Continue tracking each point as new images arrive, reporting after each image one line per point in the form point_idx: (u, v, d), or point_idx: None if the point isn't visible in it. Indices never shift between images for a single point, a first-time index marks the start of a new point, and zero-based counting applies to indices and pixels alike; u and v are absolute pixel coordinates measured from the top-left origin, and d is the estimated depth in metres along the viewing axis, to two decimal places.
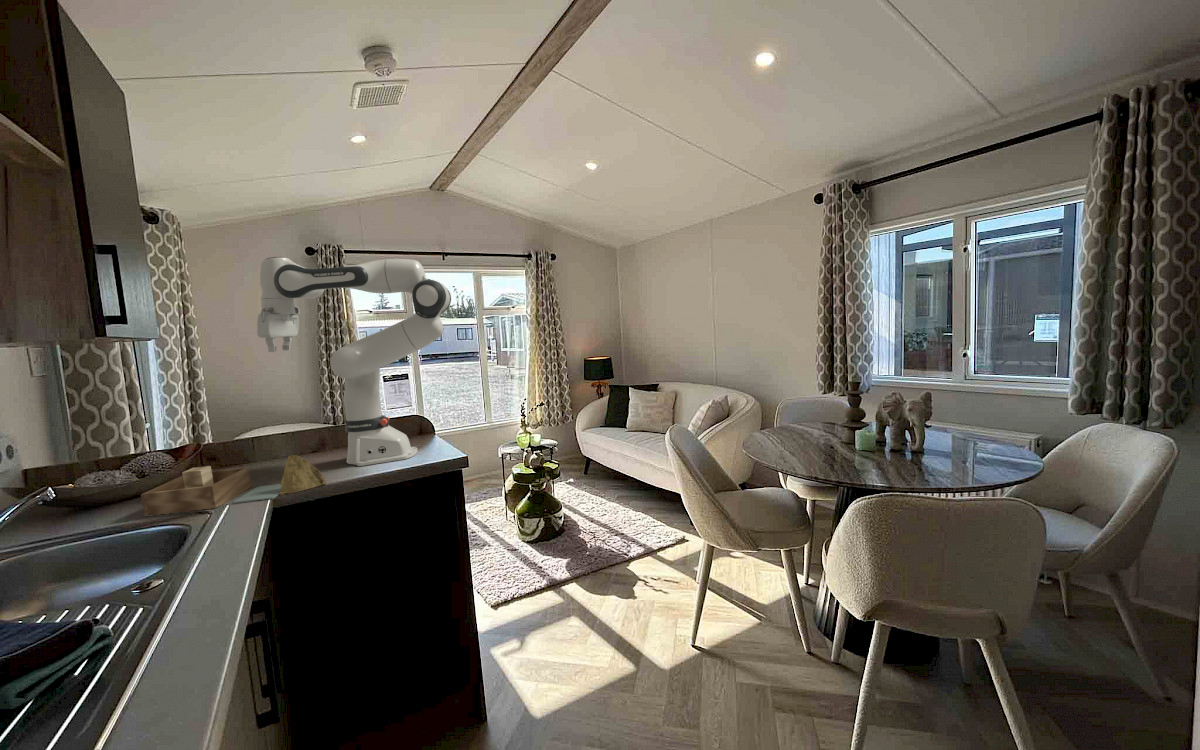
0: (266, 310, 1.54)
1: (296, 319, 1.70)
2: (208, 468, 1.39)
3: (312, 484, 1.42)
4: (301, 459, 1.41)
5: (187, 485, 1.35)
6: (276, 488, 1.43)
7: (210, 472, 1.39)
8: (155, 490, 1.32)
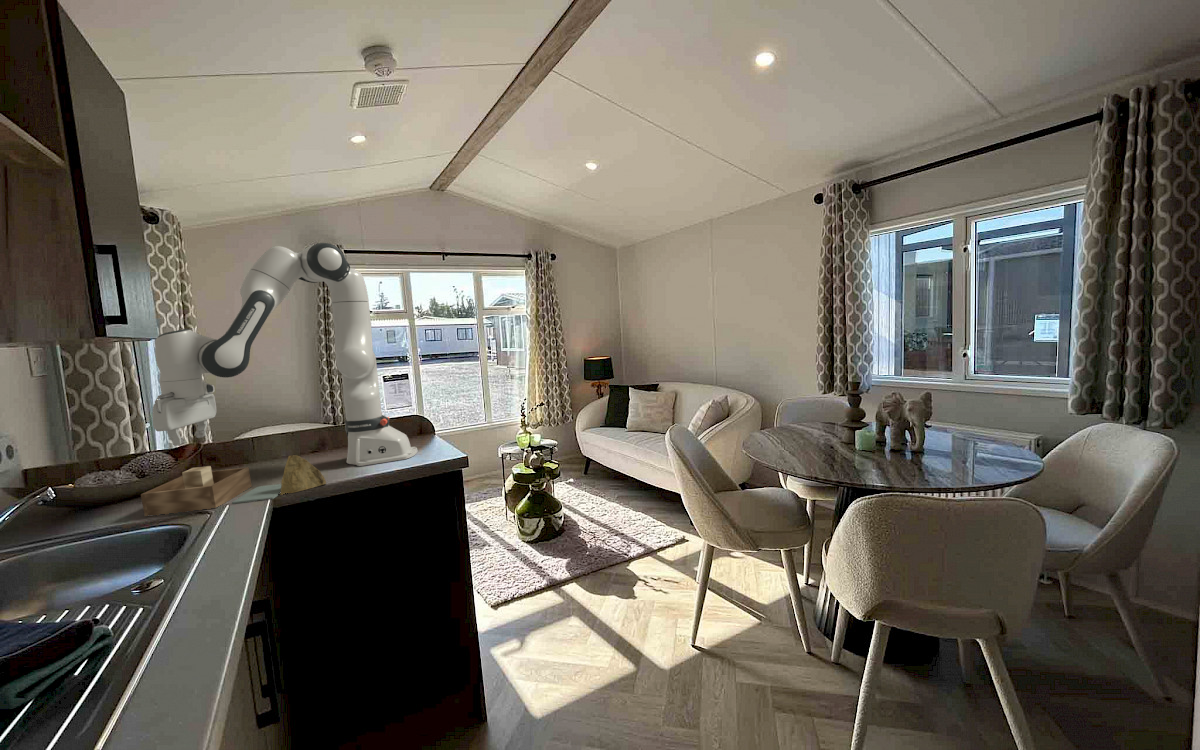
0: (163, 397, 1.27)
1: (211, 398, 1.43)
2: (208, 468, 1.39)
3: (312, 484, 1.42)
4: (301, 459, 1.42)
5: (187, 485, 1.35)
6: (276, 488, 1.43)
7: (210, 472, 1.39)
8: (155, 490, 1.32)
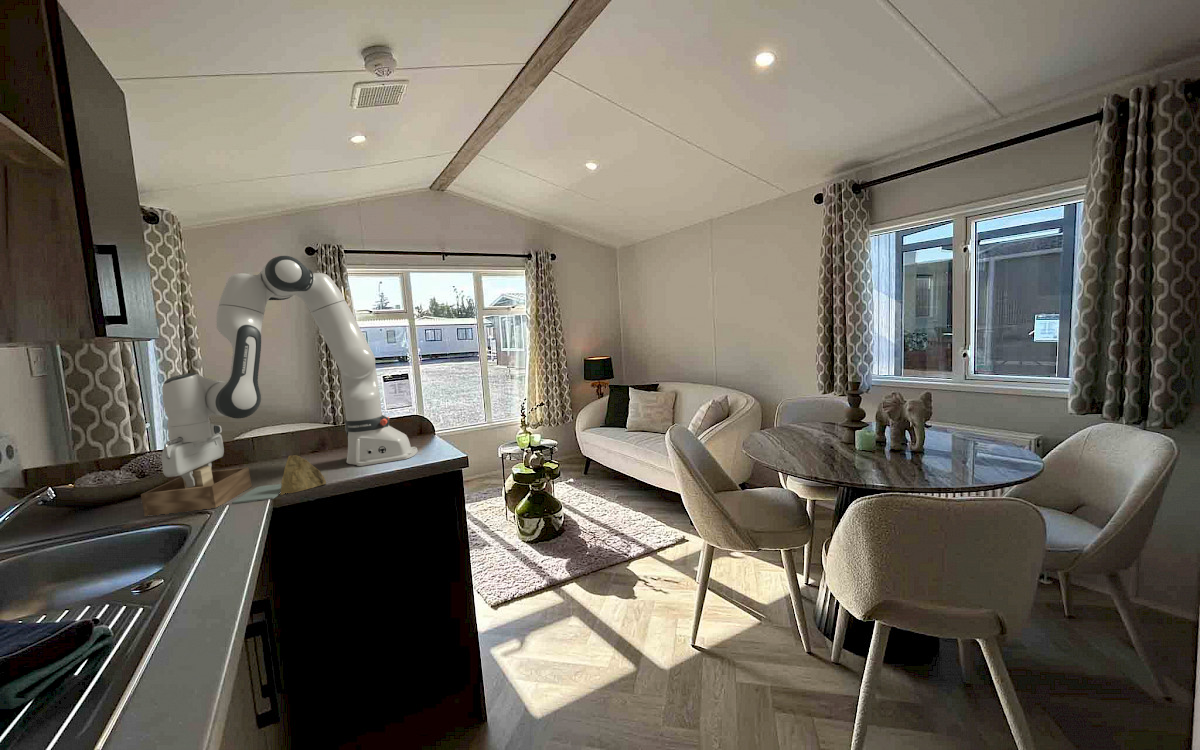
0: (171, 443, 1.28)
1: (218, 438, 1.44)
2: (208, 468, 1.39)
3: (312, 484, 1.42)
4: (301, 459, 1.42)
5: None
6: (276, 488, 1.43)
7: (210, 472, 1.39)
8: (155, 490, 1.32)
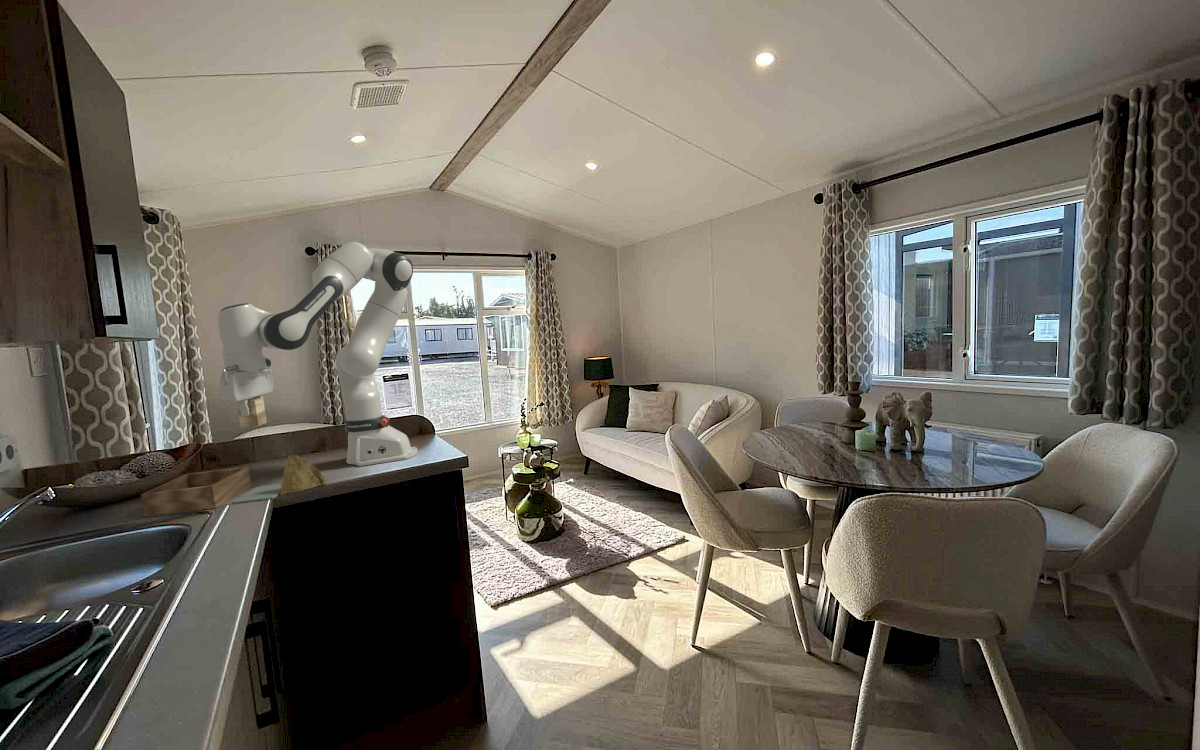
0: (229, 369, 1.28)
1: (269, 373, 1.45)
2: (261, 399, 1.39)
3: (312, 484, 1.42)
4: (301, 459, 1.42)
5: (241, 415, 1.35)
6: (276, 488, 1.43)
7: (263, 404, 1.40)
8: (155, 490, 1.32)
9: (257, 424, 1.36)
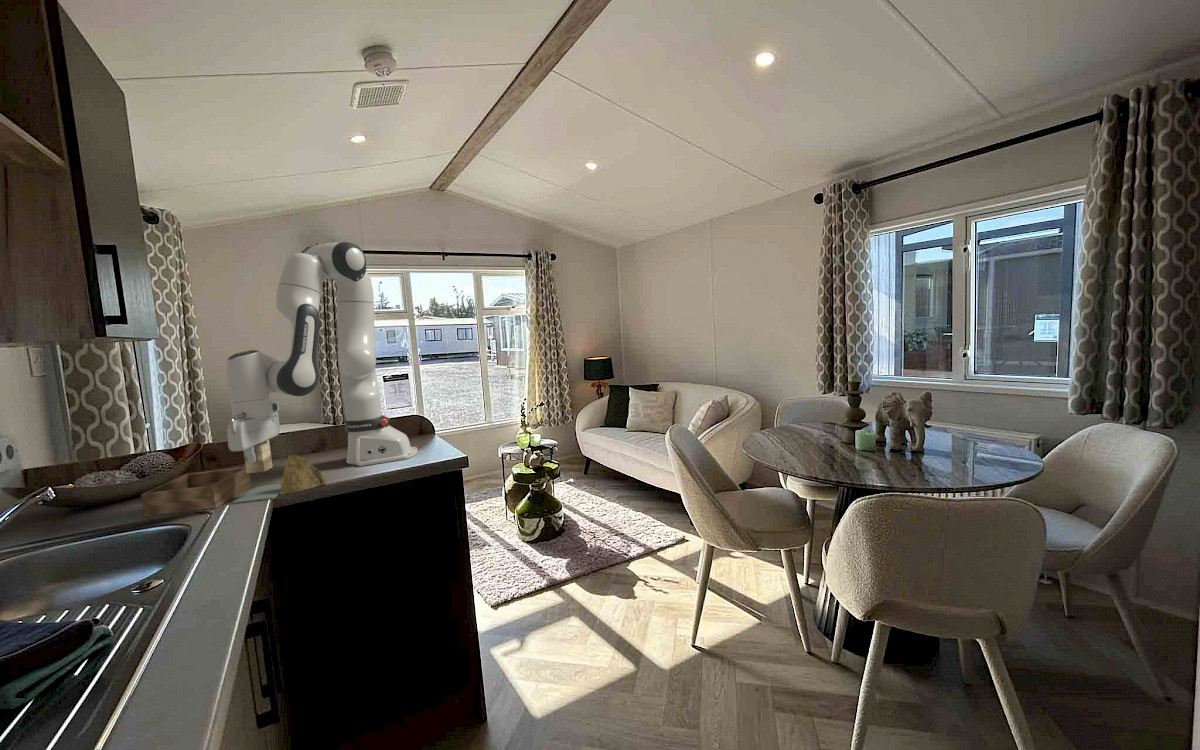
0: (237, 418, 1.30)
1: (275, 416, 1.46)
2: (267, 445, 1.40)
3: (312, 484, 1.42)
4: (301, 459, 1.42)
5: None
6: (276, 488, 1.43)
7: (269, 449, 1.41)
8: (155, 490, 1.32)
9: (263, 470, 1.37)
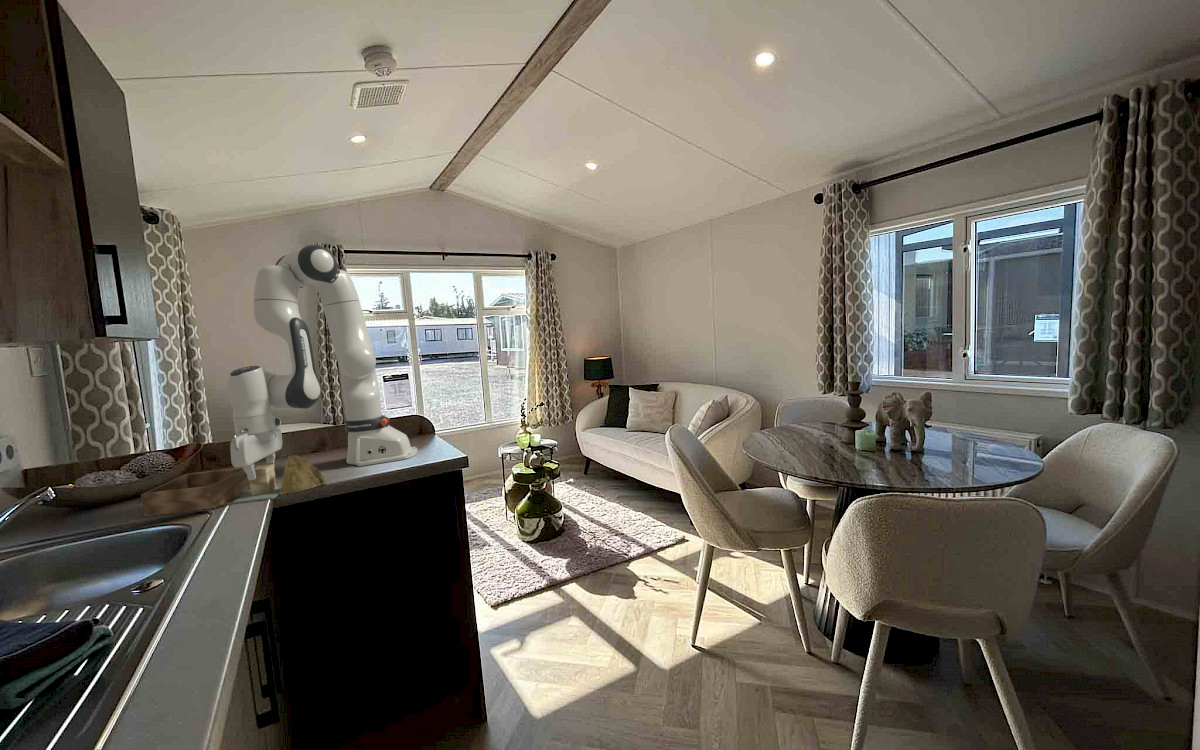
0: (239, 435, 1.30)
1: (278, 431, 1.47)
2: (271, 466, 1.41)
3: (312, 484, 1.42)
4: (301, 459, 1.41)
5: (252, 483, 1.38)
6: None
7: (273, 470, 1.42)
8: (155, 490, 1.32)
9: (268, 492, 1.38)
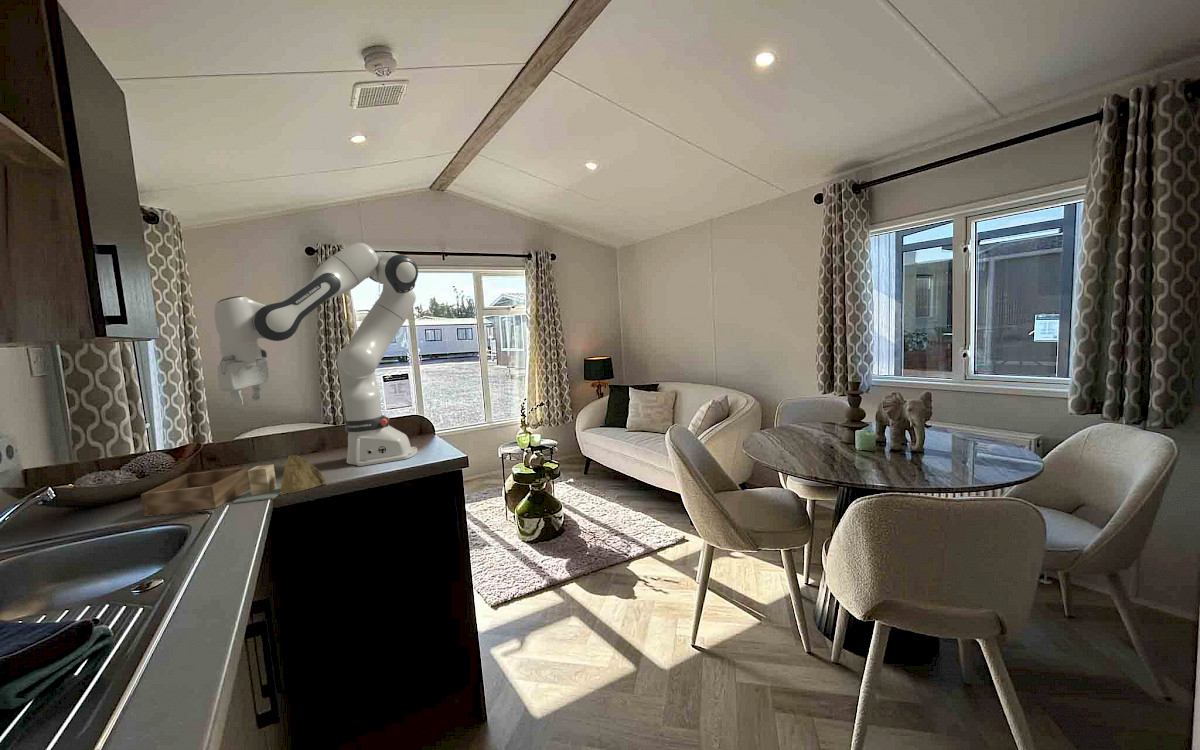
0: (226, 359, 1.33)
1: (264, 363, 1.50)
2: (271, 466, 1.41)
3: (312, 484, 1.42)
4: (301, 459, 1.42)
5: (252, 483, 1.38)
6: None
7: (273, 470, 1.42)
8: (155, 490, 1.32)
9: (268, 492, 1.38)
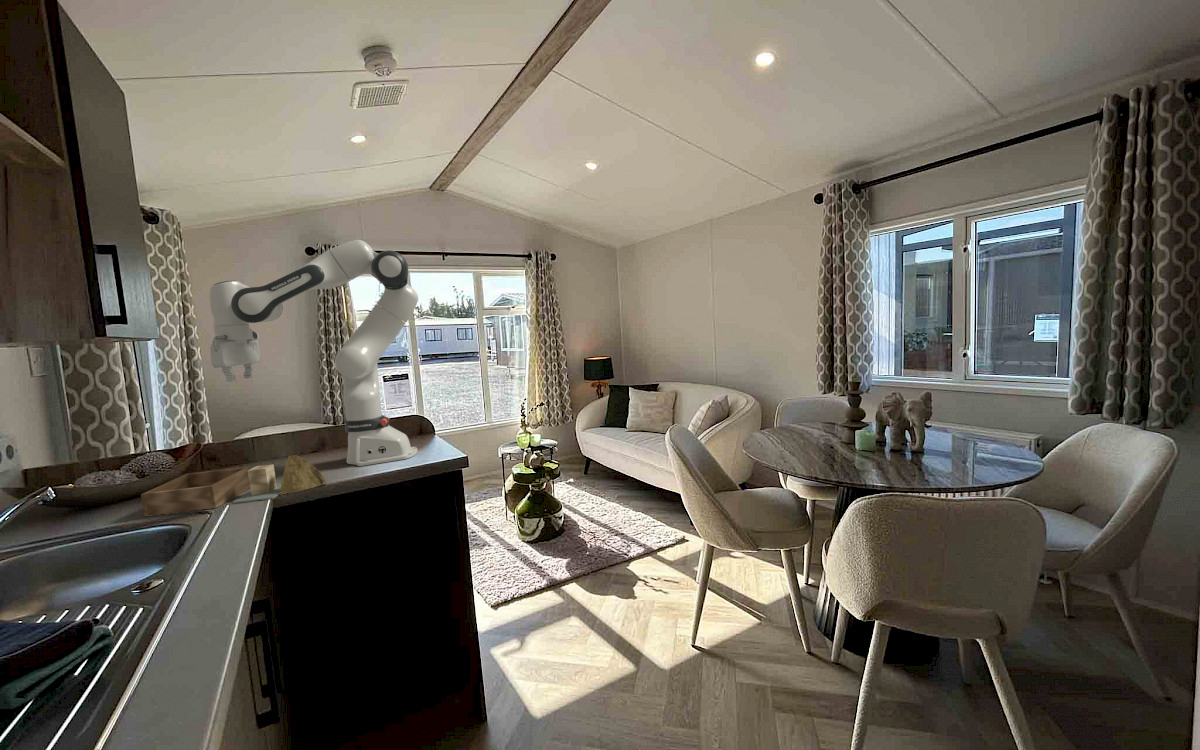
0: (218, 338, 1.45)
1: (256, 344, 1.62)
2: (271, 466, 1.41)
3: (312, 484, 1.42)
4: (301, 459, 1.41)
5: (252, 483, 1.38)
6: None
7: (273, 470, 1.42)
8: (155, 490, 1.32)
9: (268, 492, 1.38)
